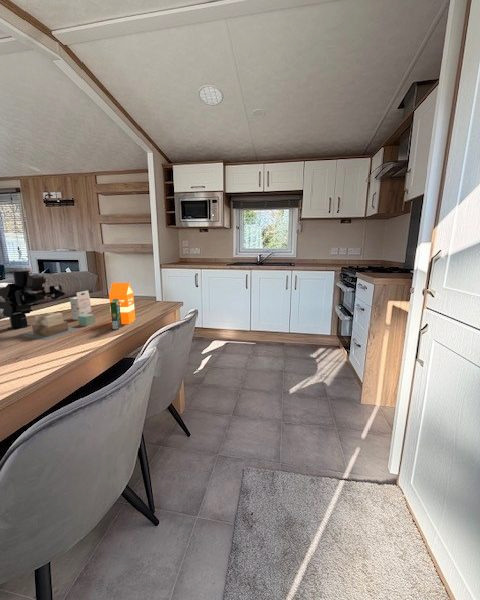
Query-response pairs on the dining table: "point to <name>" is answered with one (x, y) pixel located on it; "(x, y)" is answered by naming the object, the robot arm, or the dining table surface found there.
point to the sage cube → (86, 319)
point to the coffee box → (115, 314)
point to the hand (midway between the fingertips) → (54, 295)
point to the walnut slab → (50, 329)
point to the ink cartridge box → (80, 304)
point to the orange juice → (123, 301)
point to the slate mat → (49, 336)
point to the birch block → (49, 319)
